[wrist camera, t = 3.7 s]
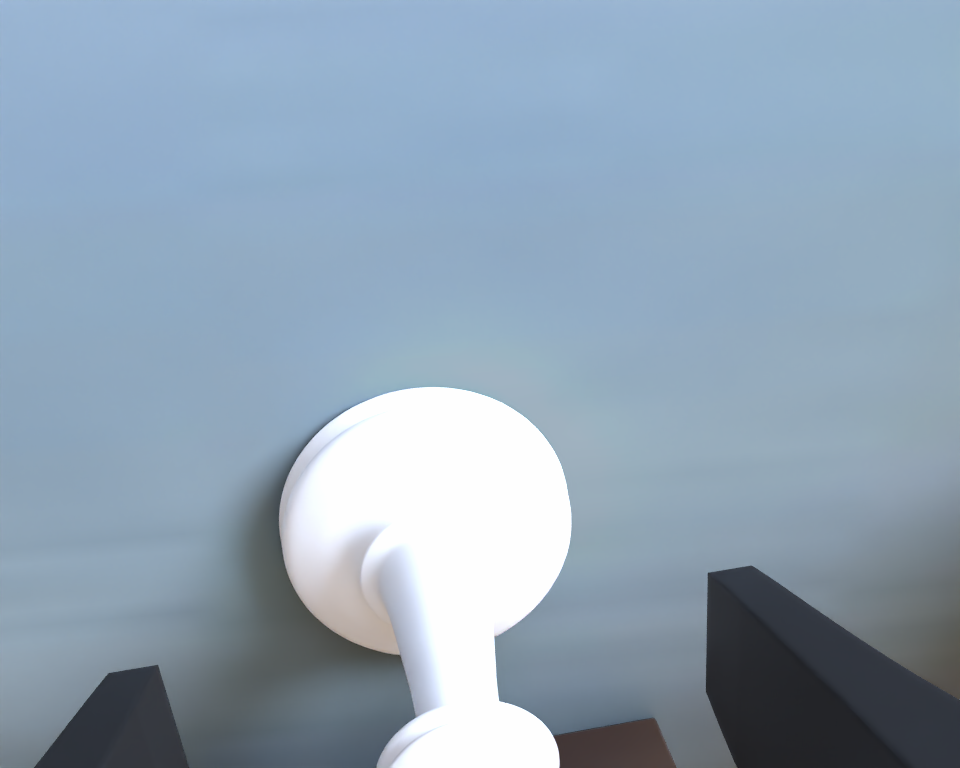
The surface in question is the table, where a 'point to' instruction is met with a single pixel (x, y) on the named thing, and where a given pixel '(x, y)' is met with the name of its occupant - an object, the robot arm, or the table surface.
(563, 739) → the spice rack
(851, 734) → the robot arm
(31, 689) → the table surface
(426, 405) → the chess piece
